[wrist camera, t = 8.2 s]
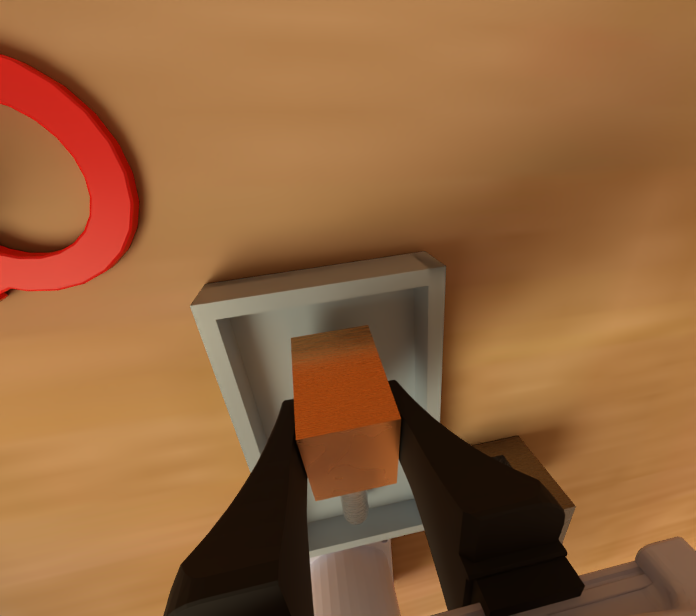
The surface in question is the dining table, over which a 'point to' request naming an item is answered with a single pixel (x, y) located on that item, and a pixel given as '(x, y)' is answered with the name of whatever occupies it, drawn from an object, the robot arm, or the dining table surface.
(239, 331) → the tray
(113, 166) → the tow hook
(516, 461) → the block
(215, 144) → the dining table surface
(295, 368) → the hitch pin
